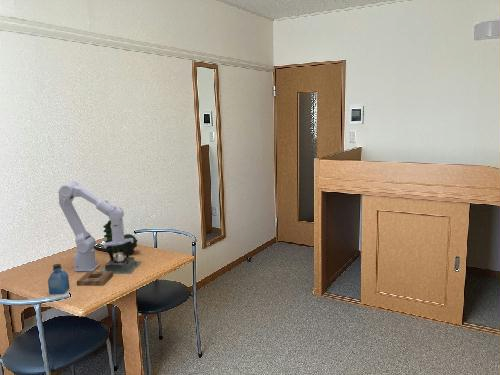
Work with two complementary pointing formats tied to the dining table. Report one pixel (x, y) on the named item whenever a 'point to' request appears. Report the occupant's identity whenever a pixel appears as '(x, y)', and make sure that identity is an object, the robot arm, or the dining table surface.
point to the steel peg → (119, 257)
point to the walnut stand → (102, 276)
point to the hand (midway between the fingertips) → (119, 258)
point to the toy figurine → (121, 247)
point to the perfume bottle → (58, 281)
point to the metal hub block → (122, 266)
